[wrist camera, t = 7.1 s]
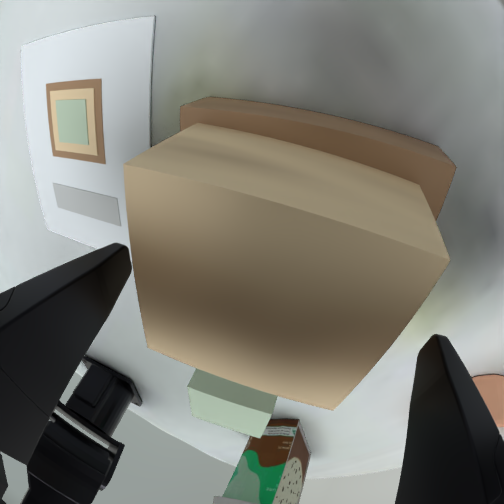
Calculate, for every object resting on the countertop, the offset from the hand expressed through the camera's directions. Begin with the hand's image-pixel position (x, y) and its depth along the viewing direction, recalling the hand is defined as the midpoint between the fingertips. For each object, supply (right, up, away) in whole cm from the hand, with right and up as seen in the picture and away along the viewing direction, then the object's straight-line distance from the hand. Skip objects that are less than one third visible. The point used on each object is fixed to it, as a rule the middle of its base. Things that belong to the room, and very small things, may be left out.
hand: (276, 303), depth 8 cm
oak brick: (0, +2, +2) cm, 3 cm away
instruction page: (-9, +6, +4) cm, 12 cm away
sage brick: (-1, -6, +11) cm, 12 cm away
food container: (+2, -16, +17) cm, 24 cm away
